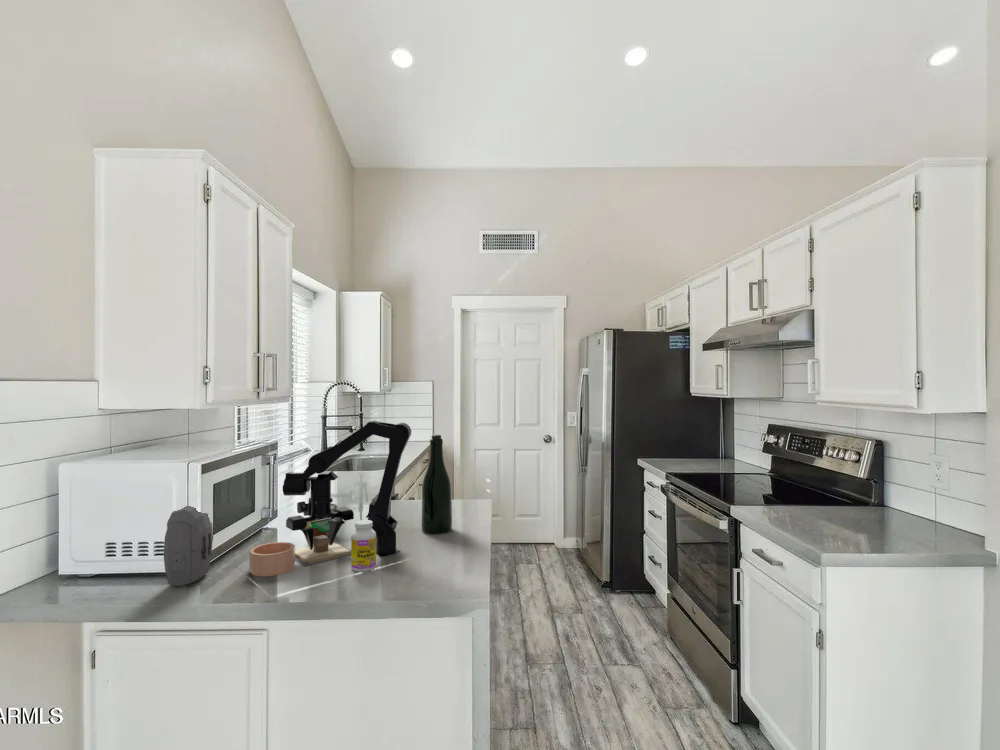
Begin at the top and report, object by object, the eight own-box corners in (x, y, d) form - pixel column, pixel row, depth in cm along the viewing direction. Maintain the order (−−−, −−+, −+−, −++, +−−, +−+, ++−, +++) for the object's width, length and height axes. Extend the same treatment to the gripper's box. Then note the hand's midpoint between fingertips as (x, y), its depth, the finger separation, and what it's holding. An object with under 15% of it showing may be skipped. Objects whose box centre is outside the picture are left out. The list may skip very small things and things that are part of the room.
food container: (327, 544, 167) (326, 512, 167) (309, 543, 168) (309, 511, 168) (345, 533, 179) (345, 503, 179) (329, 532, 180) (329, 502, 180)
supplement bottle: (354, 574, 141) (353, 526, 141) (348, 566, 147) (348, 520, 147) (378, 570, 144) (378, 523, 144) (372, 562, 150) (372, 517, 150)
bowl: (300, 570, 144) (300, 548, 144) (258, 581, 137) (258, 558, 137) (285, 560, 152) (285, 539, 152) (245, 569, 145) (244, 548, 145)
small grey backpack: (191, 570, 145) (190, 497, 145) (222, 569, 145) (222, 497, 145) (158, 592, 130) (158, 511, 130) (193, 591, 130) (193, 510, 130)
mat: (358, 555, 156) (358, 553, 156) (305, 568, 145) (305, 566, 145) (334, 543, 168) (334, 541, 168) (283, 554, 157) (283, 553, 157)
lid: (351, 553, 156) (351, 537, 156) (308, 564, 147) (308, 547, 147) (332, 543, 166) (332, 528, 166) (290, 553, 157) (290, 537, 157)
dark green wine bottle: (416, 533, 178) (415, 436, 178) (429, 525, 188) (428, 433, 188) (445, 536, 175) (444, 436, 175) (456, 527, 185) (456, 433, 185)
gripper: (338, 486, 169) (338, 535, 169) (279, 495, 156) (279, 547, 156) (354, 491, 161) (354, 542, 161) (293, 501, 148) (293, 557, 148)
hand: (320, 547), depth 157 cm, fingers open, 6 cm apart
